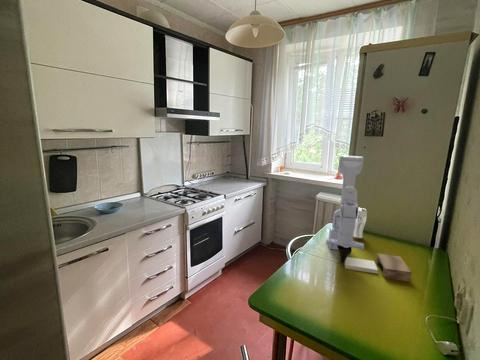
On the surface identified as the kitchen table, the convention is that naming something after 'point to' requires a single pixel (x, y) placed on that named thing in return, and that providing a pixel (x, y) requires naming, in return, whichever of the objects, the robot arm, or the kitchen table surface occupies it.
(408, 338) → the kitchen table surface
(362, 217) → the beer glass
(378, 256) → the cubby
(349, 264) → the tile
